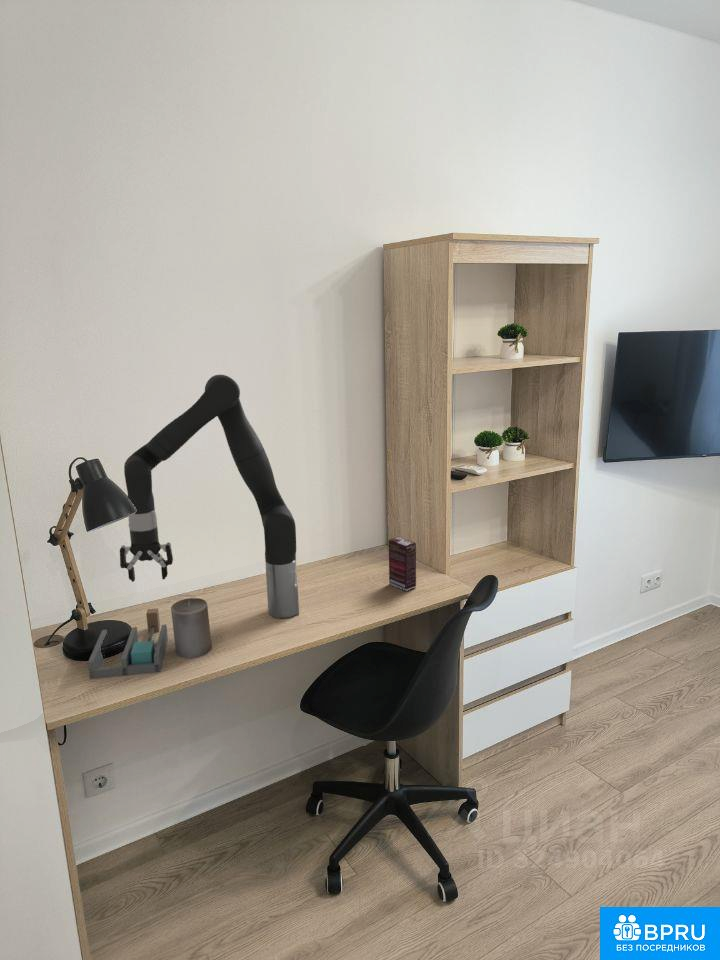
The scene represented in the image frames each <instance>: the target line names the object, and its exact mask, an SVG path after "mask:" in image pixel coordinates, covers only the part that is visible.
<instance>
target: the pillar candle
mask: <svg viewBox="0 0 720 960" xmlns="http://www.w3.org/2000/svg"><path fill="white" fill-rule="evenodd" d="M170 612H171V613H170V614H171V619H172V620H171V621H172V630H173V638H174V639H173V640H174V645H175V647H174V648H175V654H176V656H178V657H180V658H183V659H196V658H197V659H198V658H201V657H204V656H206V655H207V654H209V653H210V652H211V650H212V646H213V645H212V637H211V627H210V617H209V609H208V602H207V601H206V600H205V599H203V598H199V597H198V598H197V597H191V598H183V599H180V600H179V601H176V602H174V603H173V604H172V605H171V607H170Z"/></svg>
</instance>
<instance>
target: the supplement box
mask: <svg viewBox="0 0 720 960" xmlns="http://www.w3.org/2000/svg"><path fill="white" fill-rule="evenodd" d="M388 570H389V571H388V573H389V574H388V575H389V577H388V579H389V585H390V584H391V585H390V586H392V585H393V587H395V588H397V587H398V588H397V589H399V588H400V590H402V589H403V590H402V591H404V590H405V591H404V592H408V590H409V591H411V590H410V589H412V588H414V589H416V588H417V543H416V542H414V541H411V540H408V539H406V538H403V537H400V536H397V537H394V538H390V539H388ZM415 587H416V588H415ZM412 590H413V589H412Z"/></svg>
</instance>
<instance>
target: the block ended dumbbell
mask: <svg viewBox="0 0 720 960" xmlns="http://www.w3.org/2000/svg"><path fill="white" fill-rule="evenodd" d="M145 614H146V615H145V616H146V623H147V624H146V625H147V631H148V632H147V633H148V637H147V640H146V641H138V642H135V643H134V646H133V649H132V652H131V659H132V664H131V665H135V664H145V663H154V653H155V649H156V646H155V640H152V638H153V636H154V633H158V632H159V633H160V630H161V622H160V613H159V608H148V609H147V610H146V613H145Z"/></svg>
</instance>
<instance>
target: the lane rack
mask: <svg viewBox="0 0 720 960" xmlns="http://www.w3.org/2000/svg"><path fill="white" fill-rule="evenodd" d="M106 634H107V635H108V630H107V629H101V632H100V634H99V637H98V639H97V641H96V643H95V645H94V648H93V650H92V652H91V654H90V656H89V659H88V662H87V665H88V672H89V678H90V679H91V680H92V679H93V680H95V679H103V678H105V679H106V678H113V677H124V676H134V675H146V674H147V675H148V674H155V673H161V670H162V666H163V661H164V658H165V655H166V654H165V653H166V649H167V645H168V640H169V637H168V627H167V624H161V626H160V630H159V634H158V638H157V642H156V646H155V653H154V663H145V664H135V665H132V659H131V652H132V649H133V646H134V643H135V642H139V634H138V627H137V626H134V627H133V626H132V627H131V630H130V633H129V635H128V638H127V641H126V644H125V646H124V649H123V651H122V652H123V653H122V655H121V657H120V661H121V662H120V663H121V665H116V666H105V667H104V666H103V667H101V665H102V663H103V661H104V658H103V655H102V653H101V645H102V643H103V640H104V638H105V636H106Z"/></svg>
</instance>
